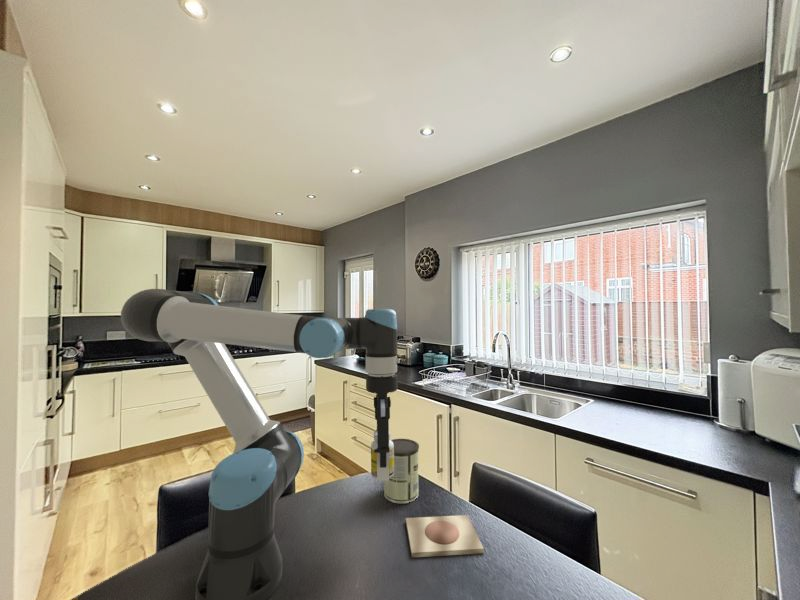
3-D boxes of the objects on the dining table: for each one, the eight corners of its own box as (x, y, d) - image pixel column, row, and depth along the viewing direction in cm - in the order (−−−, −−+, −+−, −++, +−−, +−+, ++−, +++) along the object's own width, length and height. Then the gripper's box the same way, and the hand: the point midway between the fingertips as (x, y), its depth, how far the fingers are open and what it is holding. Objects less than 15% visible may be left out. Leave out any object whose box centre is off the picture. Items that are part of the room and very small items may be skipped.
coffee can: (386, 483, 101) (386, 437, 101) (419, 485, 100) (419, 439, 100) (380, 502, 90) (381, 451, 91) (417, 505, 89) (418, 453, 90)
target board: (411, 557, 70) (411, 551, 70) (405, 522, 82) (405, 517, 82) (483, 553, 71) (483, 547, 72) (467, 519, 83) (467, 514, 83)
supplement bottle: (367, 472, 77) (367, 430, 78) (388, 467, 80) (388, 427, 80) (375, 482, 72) (375, 438, 73) (397, 477, 75) (397, 434, 75)
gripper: (400, 381, 68) (402, 494, 67) (394, 367, 87) (395, 455, 86) (365, 382, 68) (365, 496, 67) (366, 367, 86) (367, 457, 85)
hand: (382, 473), depth 76 cm, fingers closed on supplement bottle, 5 cm apart
